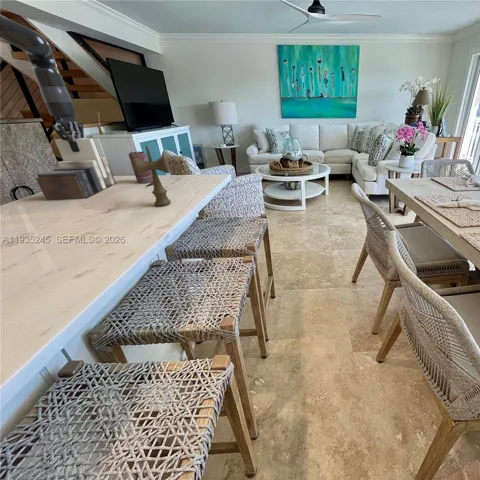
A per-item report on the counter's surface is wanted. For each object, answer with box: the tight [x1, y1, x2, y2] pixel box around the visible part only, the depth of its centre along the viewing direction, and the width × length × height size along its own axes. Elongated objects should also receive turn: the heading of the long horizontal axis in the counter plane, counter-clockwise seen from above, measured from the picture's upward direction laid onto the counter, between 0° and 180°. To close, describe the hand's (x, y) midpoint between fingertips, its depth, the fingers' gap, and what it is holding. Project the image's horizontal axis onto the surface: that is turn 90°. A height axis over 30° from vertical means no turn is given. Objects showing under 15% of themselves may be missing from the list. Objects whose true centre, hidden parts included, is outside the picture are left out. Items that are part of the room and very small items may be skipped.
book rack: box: [35, 156, 118, 202], centre depth 102 cm, size 14×22×12 cm, turn 9°
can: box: [128, 150, 154, 187], centre depth 114 cm, size 6×6×14 cm
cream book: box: [54, 137, 107, 178], centre depth 104 cm, size 12×2×15 cm, turn 99°
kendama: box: [133, 145, 172, 207], centre depth 89 cm, size 6×10×20 cm, turn 113°
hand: (78, 151), depth 103 cm, fingers closed on cream book, 2 cm apart
